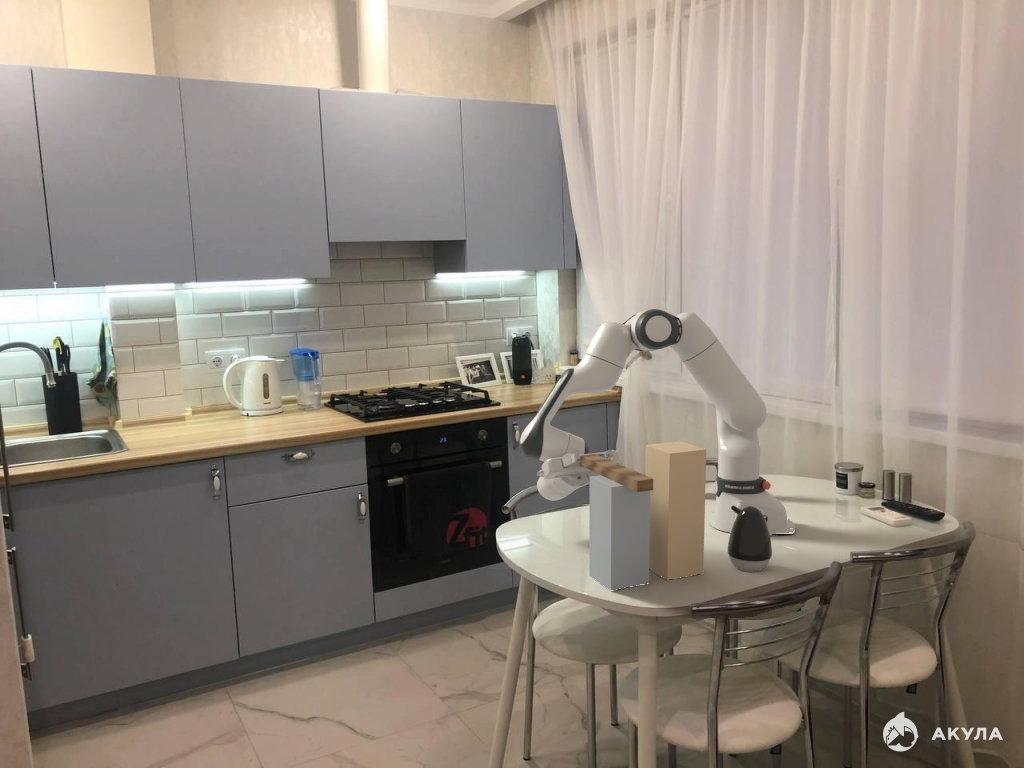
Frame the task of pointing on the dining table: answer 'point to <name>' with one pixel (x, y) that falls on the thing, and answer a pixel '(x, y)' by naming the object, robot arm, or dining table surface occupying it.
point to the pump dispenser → (749, 540)
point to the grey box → (618, 534)
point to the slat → (617, 473)
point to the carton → (676, 508)
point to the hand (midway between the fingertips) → (594, 454)
